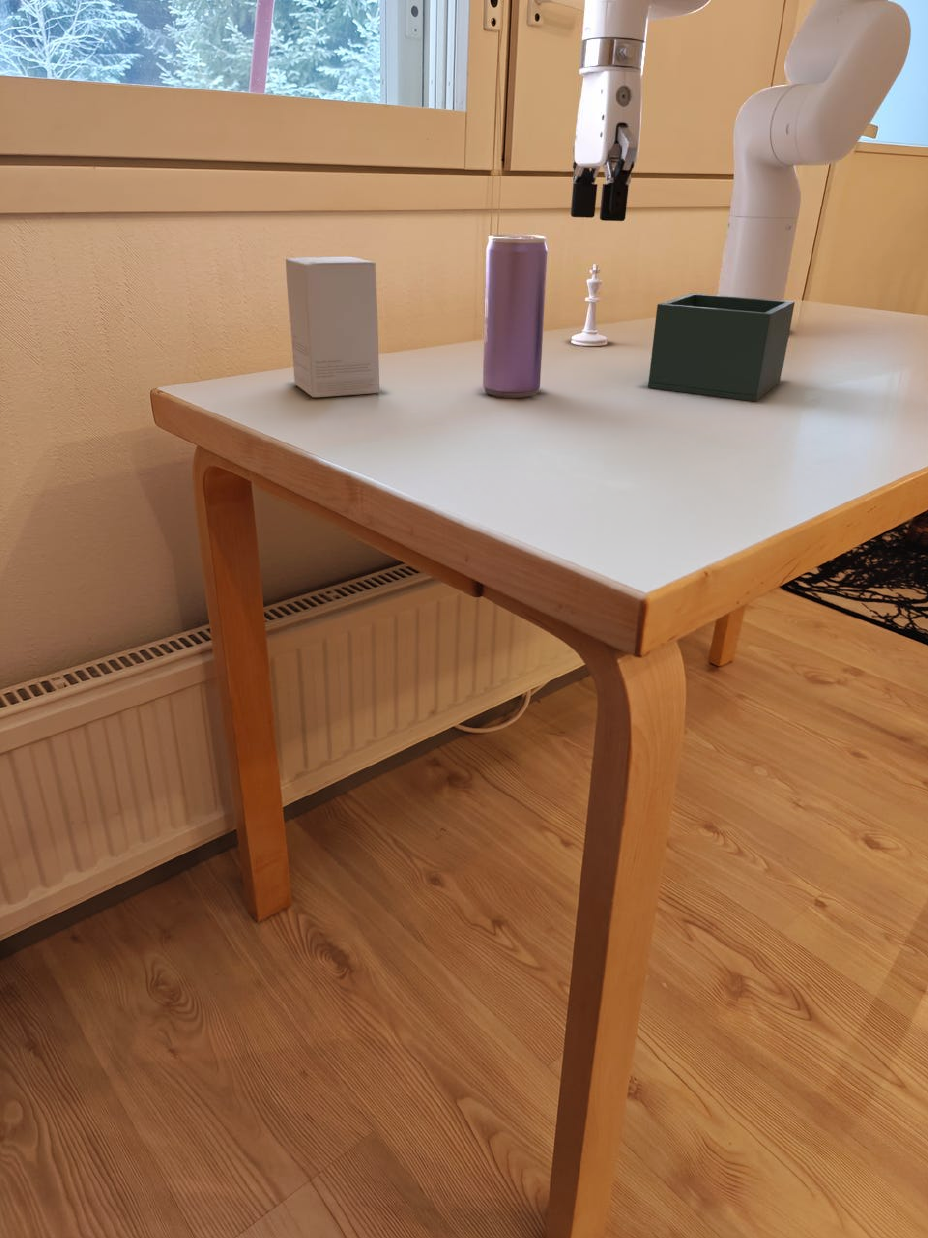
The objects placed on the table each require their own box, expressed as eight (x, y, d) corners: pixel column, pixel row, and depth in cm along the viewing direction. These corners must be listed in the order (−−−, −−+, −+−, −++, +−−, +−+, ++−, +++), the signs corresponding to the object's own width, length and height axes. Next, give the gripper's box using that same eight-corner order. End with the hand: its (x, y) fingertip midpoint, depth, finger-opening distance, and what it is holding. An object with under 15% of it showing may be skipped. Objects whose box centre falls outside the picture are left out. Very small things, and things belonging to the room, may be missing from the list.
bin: (680, 369, 103) (690, 293, 99) (780, 381, 98) (794, 301, 94) (647, 387, 94) (657, 304, 90) (755, 401, 89) (770, 313, 85)
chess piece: (563, 342, 118) (569, 263, 113) (586, 338, 121) (592, 261, 117) (592, 347, 115) (599, 267, 110) (614, 343, 118) (622, 264, 113)
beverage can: (541, 399, 88) (550, 238, 81) (482, 398, 88) (486, 237, 81) (537, 386, 93) (546, 234, 86) (482, 385, 93) (486, 233, 86)
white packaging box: (381, 393, 89) (378, 261, 83) (311, 399, 86) (302, 262, 80) (359, 379, 95) (354, 254, 89) (292, 384, 92) (283, 256, 86)
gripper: (673, 54, 97) (653, 222, 104) (611, 70, 111) (597, 216, 119) (611, 49, 95) (595, 221, 102) (556, 66, 110) (546, 215, 117)
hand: (596, 218), depth 111 cm, fingers open, 9 cm apart
